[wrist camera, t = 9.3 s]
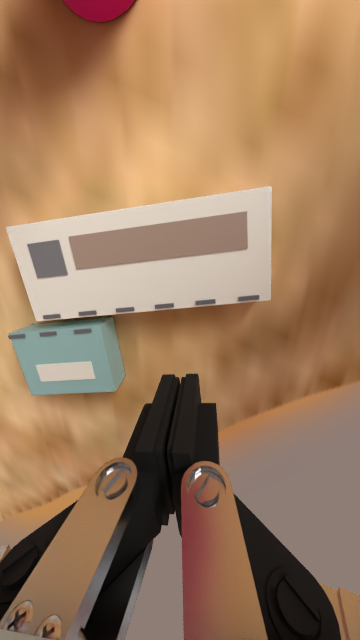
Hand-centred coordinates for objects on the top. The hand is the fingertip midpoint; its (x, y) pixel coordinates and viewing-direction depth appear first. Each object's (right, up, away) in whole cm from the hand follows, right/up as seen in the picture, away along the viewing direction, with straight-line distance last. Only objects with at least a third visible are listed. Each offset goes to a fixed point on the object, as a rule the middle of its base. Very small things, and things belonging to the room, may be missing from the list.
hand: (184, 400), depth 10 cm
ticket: (-3, +9, +7) cm, 11 cm away
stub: (-10, +1, +10) cm, 14 cm away
